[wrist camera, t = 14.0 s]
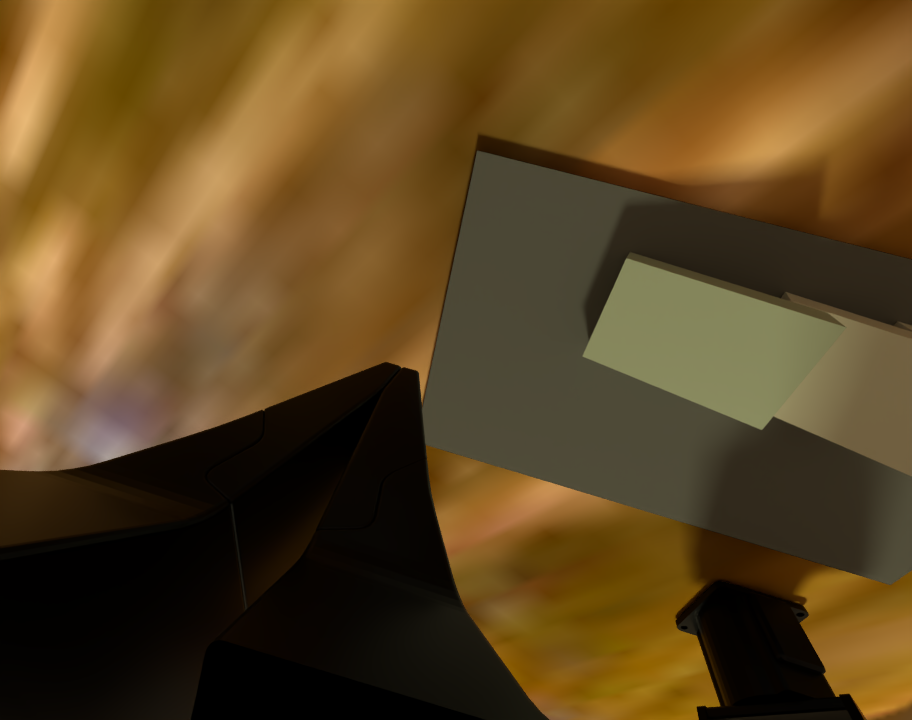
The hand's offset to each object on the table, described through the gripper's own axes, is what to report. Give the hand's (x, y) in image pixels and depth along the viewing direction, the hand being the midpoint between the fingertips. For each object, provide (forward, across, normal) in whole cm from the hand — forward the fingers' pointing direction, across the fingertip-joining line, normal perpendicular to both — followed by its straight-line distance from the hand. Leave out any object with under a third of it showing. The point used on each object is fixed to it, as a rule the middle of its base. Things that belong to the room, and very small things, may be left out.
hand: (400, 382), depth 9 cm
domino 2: (+11, -14, 0) cm, 18 cm away
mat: (+12, -15, +4) cm, 20 cm away
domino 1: (+11, -7, 0) cm, 13 cm away
